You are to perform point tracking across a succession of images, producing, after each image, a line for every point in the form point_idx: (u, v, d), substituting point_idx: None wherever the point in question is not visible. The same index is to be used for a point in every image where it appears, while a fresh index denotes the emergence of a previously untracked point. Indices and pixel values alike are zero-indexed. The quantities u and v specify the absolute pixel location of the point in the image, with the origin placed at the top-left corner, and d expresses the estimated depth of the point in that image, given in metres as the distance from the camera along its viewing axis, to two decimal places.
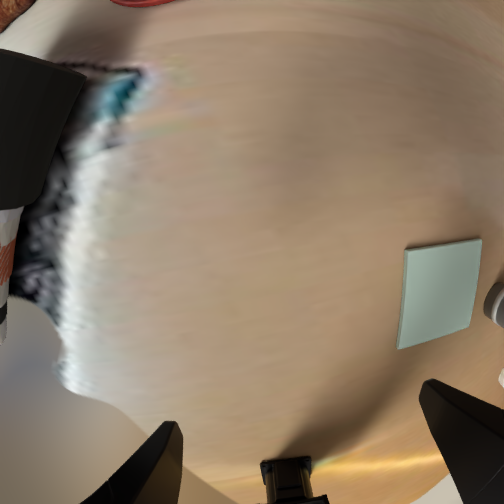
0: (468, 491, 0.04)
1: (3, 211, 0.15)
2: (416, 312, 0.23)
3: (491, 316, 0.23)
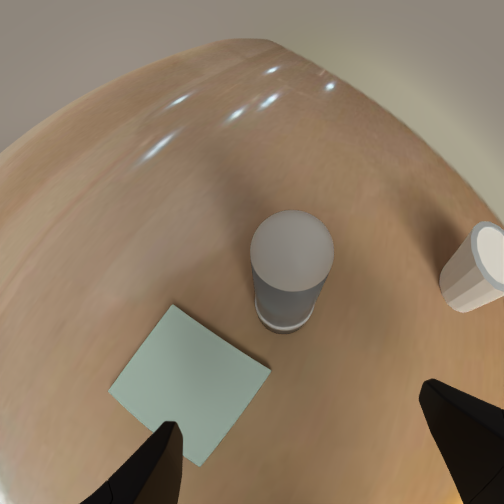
0: (468, 491, 0.04)
1: None
2: None
3: (281, 330, 0.21)
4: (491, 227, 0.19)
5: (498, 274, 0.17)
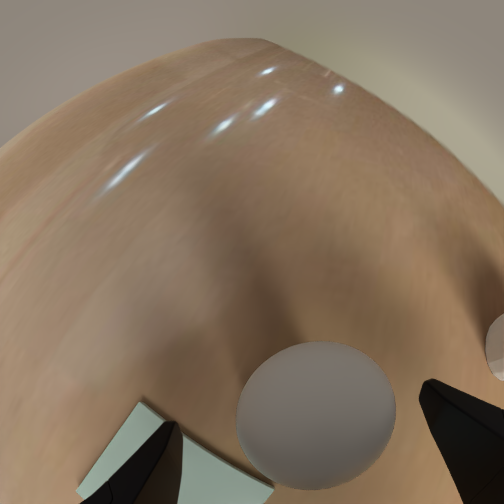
0: (468, 491, 0.04)
1: None
2: None
3: None
4: None
5: None
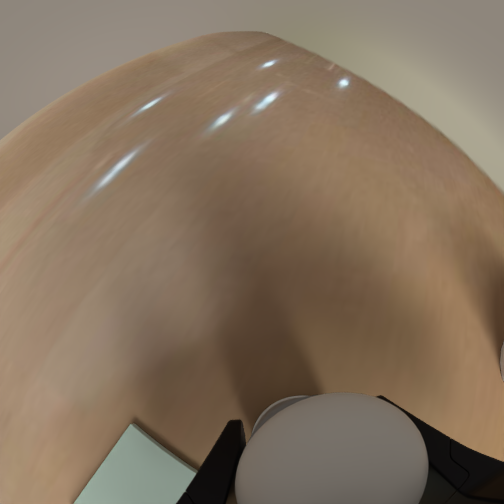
0: None
1: None
2: None
3: None
4: None
5: None
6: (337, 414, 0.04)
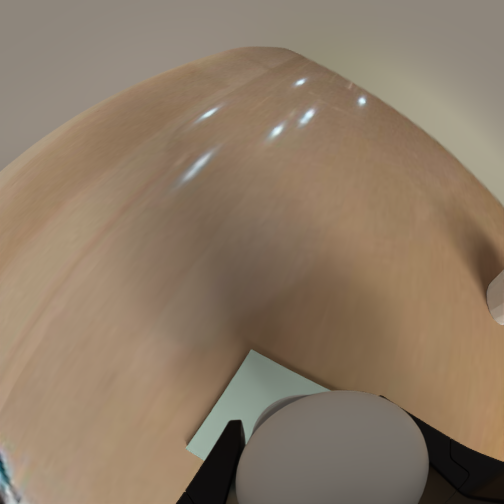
0: None
1: None
2: None
3: None
4: None
5: None
6: (337, 411, 0.04)
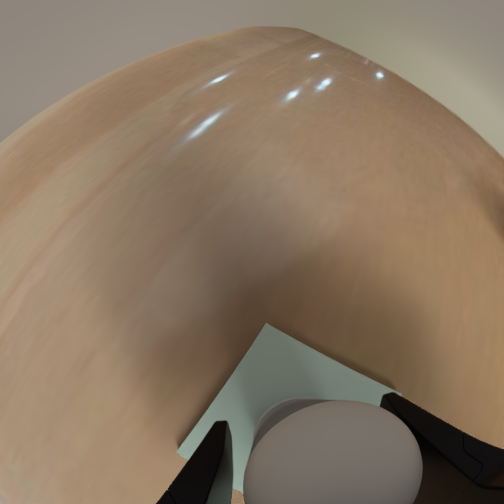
0: None
1: None
2: None
3: None
4: None
5: None
6: (339, 423, 0.05)
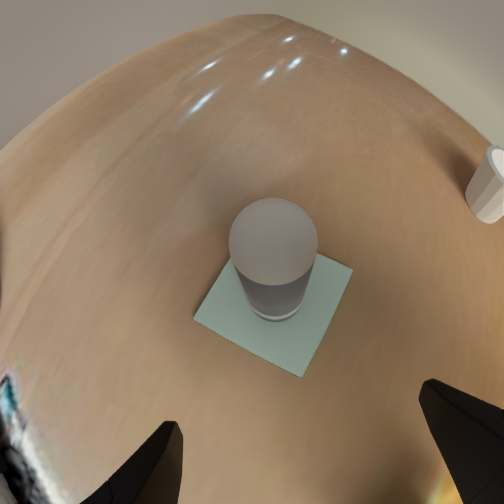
0: (468, 491, 0.04)
1: None
2: (267, 337, 0.22)
3: (274, 319, 0.21)
4: (500, 149, 0.21)
5: None
6: (265, 198, 0.14)
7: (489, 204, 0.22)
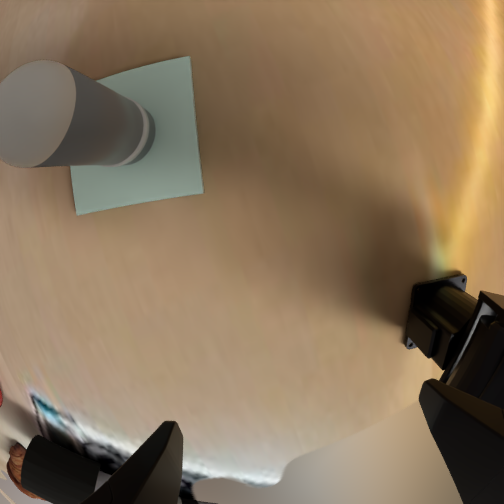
0: (468, 491, 0.04)
1: None
2: (145, 178, 0.18)
3: (133, 158, 0.16)
4: None
5: None
6: None
7: None
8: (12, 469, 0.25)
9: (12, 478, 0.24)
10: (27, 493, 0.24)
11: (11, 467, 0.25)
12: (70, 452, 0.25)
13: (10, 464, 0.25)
